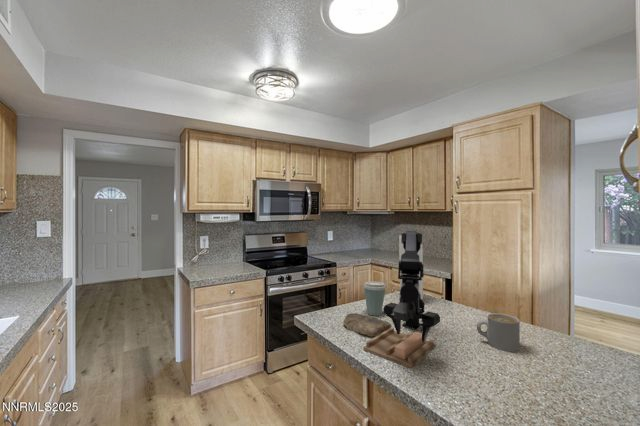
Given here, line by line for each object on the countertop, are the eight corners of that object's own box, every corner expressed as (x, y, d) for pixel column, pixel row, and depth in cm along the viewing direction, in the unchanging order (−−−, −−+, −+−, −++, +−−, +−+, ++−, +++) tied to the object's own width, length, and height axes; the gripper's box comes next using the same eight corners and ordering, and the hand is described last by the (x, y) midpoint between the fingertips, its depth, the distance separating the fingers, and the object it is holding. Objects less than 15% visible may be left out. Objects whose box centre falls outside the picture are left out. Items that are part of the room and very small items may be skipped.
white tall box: (420, 298, 165) (420, 235, 164) (422, 304, 154) (422, 237, 154) (399, 297, 167) (399, 235, 167) (400, 303, 157) (399, 237, 156)
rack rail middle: (410, 336, 114) (410, 332, 114) (412, 337, 113) (412, 333, 113) (386, 354, 101) (386, 349, 101) (388, 355, 100) (388, 350, 100)
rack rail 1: (391, 331, 120) (391, 327, 120) (394, 331, 119) (394, 327, 119) (366, 346, 106) (366, 342, 106) (368, 347, 106) (368, 343, 106)
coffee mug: (520, 343, 110) (520, 316, 110) (518, 354, 102) (518, 325, 102) (479, 334, 118) (479, 309, 118) (475, 343, 110) (474, 317, 110)
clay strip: (416, 339, 112) (416, 331, 112) (425, 342, 109) (425, 334, 109) (394, 355, 100) (394, 346, 100) (404, 359, 97) (404, 350, 97)
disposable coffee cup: (363, 309, 148) (363, 279, 148) (385, 310, 147) (385, 279, 147) (363, 317, 138) (363, 284, 138) (387, 318, 136) (387, 285, 136)
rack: (392, 332, 121) (392, 330, 121) (436, 346, 108) (436, 343, 108) (363, 350, 106) (363, 347, 106) (410, 368, 94) (410, 365, 94)
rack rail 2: (431, 343, 109) (431, 338, 109) (433, 344, 108) (433, 339, 108) (408, 362, 95) (407, 357, 95) (410, 363, 95) (410, 358, 95)
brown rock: (335, 326, 129) (372, 340, 114) (335, 314, 129) (371, 327, 114) (357, 318, 138) (393, 330, 123) (357, 308, 138) (393, 319, 123)
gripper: (374, 293, 105) (375, 337, 105) (426, 305, 92) (426, 355, 92) (391, 287, 113) (391, 328, 113) (440, 296, 100) (440, 342, 100)
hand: (410, 337), depth 104 cm, fingers open, 9 cm apart
